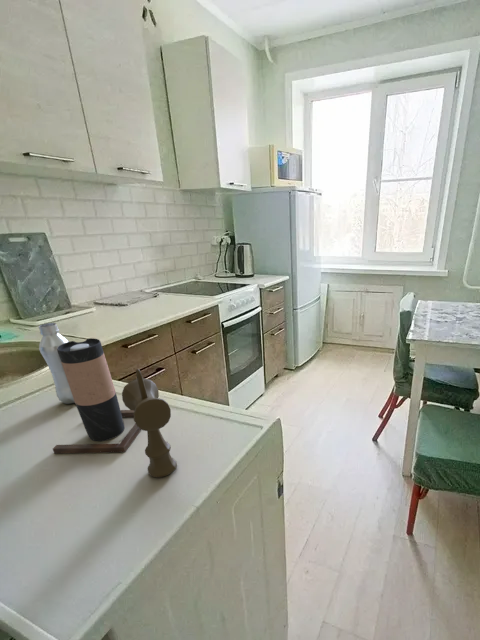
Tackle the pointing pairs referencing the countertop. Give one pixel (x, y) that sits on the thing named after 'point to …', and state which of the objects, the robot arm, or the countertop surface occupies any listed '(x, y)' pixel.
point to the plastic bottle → (55, 360)
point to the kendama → (150, 422)
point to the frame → (102, 447)
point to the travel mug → (92, 388)
